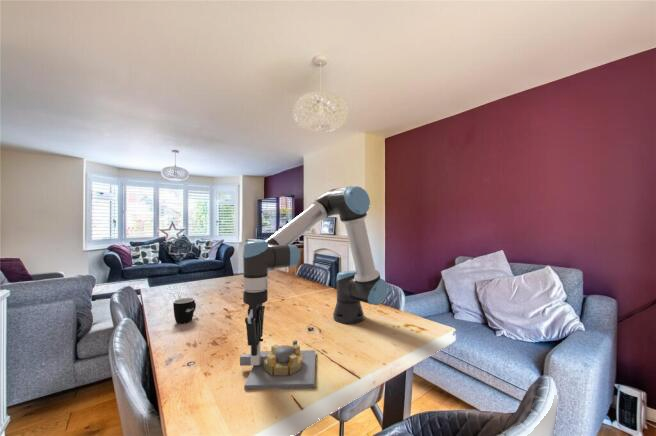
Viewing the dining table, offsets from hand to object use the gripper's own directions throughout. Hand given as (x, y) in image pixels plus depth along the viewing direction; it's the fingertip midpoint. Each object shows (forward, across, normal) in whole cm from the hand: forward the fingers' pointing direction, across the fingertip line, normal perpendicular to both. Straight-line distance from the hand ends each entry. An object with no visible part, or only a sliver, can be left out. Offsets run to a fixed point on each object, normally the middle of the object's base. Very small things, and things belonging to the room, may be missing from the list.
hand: (255, 363), depth 85 cm
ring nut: (+1, -2, +5) cm, 5 cm away
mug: (+3, -43, -48) cm, 64 cm away
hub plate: (+3, -2, +9) cm, 9 cm away
